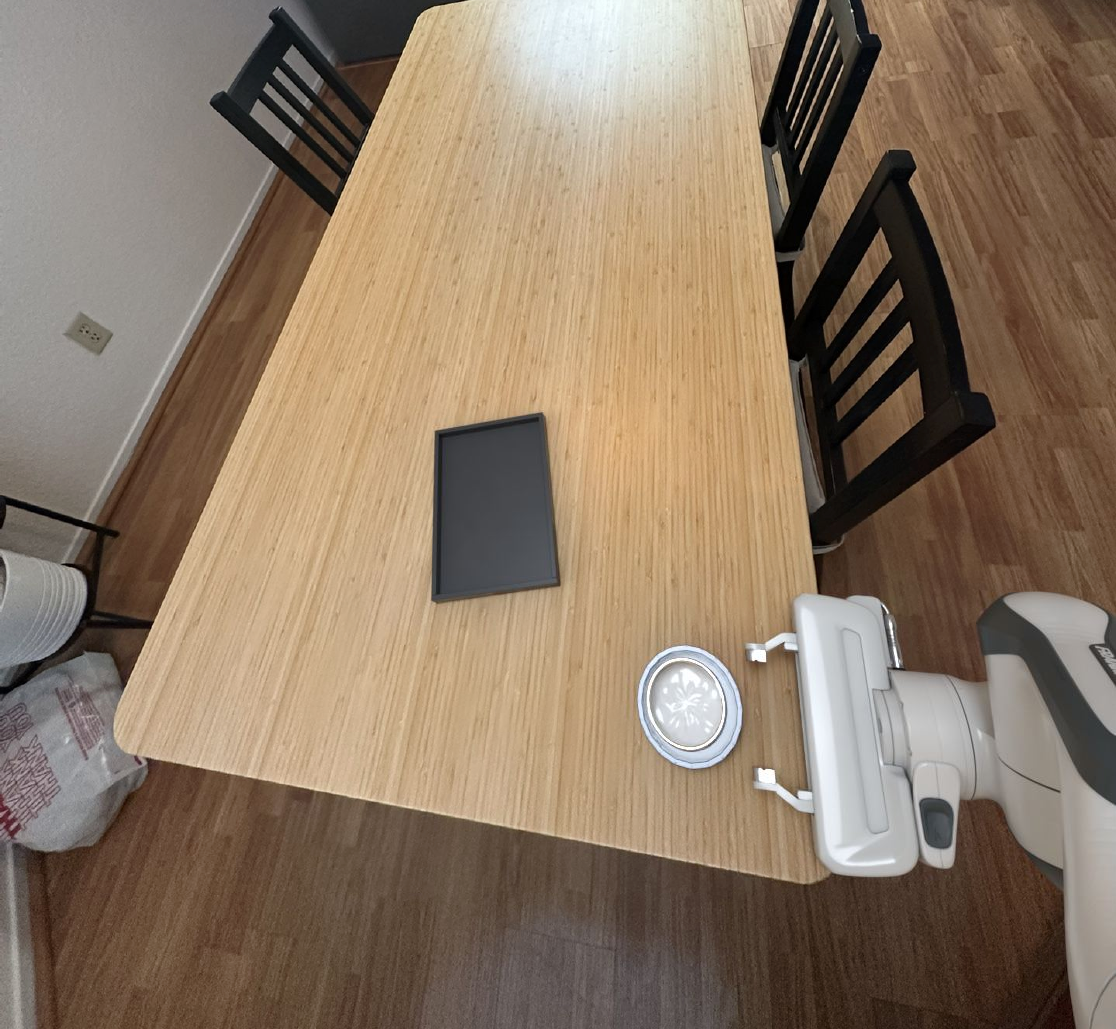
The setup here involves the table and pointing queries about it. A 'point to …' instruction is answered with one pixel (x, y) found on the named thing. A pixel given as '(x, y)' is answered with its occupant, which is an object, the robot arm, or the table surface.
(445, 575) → the tray
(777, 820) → the table surface
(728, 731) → the bowl
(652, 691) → the silver goblet
